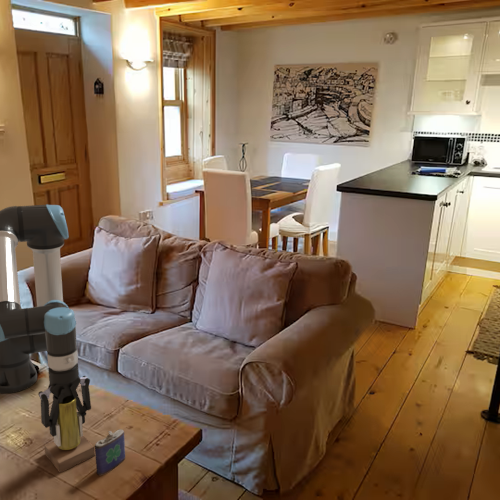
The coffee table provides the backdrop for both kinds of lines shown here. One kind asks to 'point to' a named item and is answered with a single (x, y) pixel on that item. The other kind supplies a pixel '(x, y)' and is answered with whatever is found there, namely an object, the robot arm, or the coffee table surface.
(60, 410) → the vase
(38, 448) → the coffee table surface
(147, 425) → the coffee table surface
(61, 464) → the plinth
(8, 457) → the coffee table surface
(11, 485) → the coffee table surface
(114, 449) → the flask
